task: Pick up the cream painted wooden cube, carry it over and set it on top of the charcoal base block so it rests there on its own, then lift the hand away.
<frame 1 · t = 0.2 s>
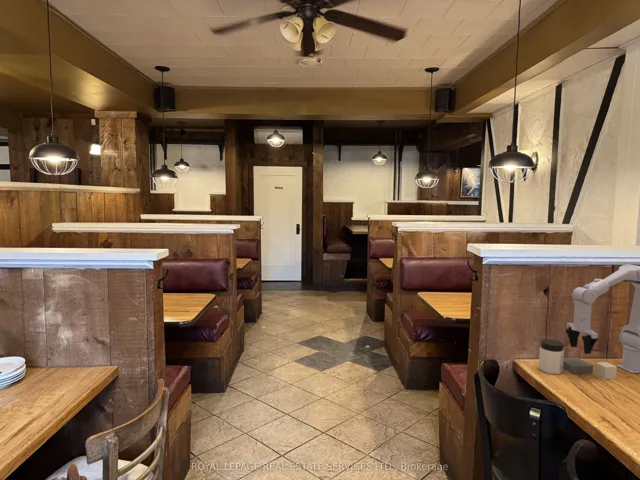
hand: (580, 350, 169), 10 cm above the table, fingers open, 7 cm apart
cream cube: (605, 376, 168), on the table
jar: (550, 370, 173), on the table
charcoal base: (574, 370, 175), on the table
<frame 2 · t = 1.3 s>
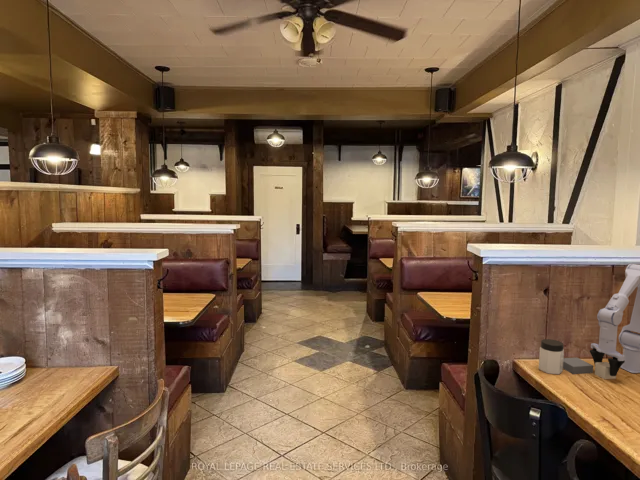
hand: (605, 371, 167), 2 cm above the table, fingers open, 7 cm apart
nothing on the table moved.
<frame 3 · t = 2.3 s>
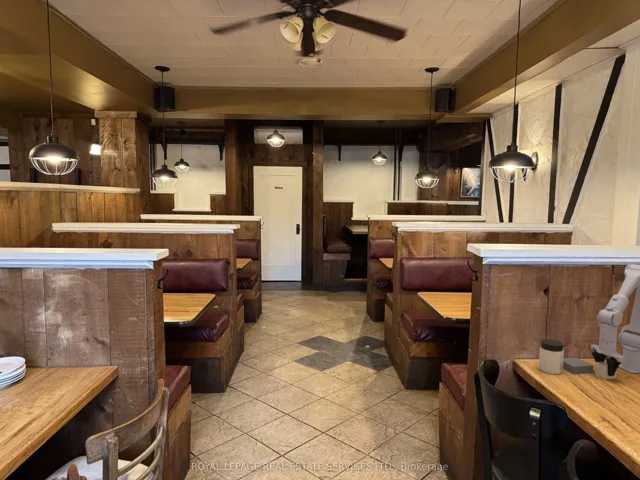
hand: (605, 372, 167), 1 cm above the table, fingers closed on cream cube, 5 cm apart
cream cube: (605, 376, 168), on the table, touching gripper
everything else where it was.
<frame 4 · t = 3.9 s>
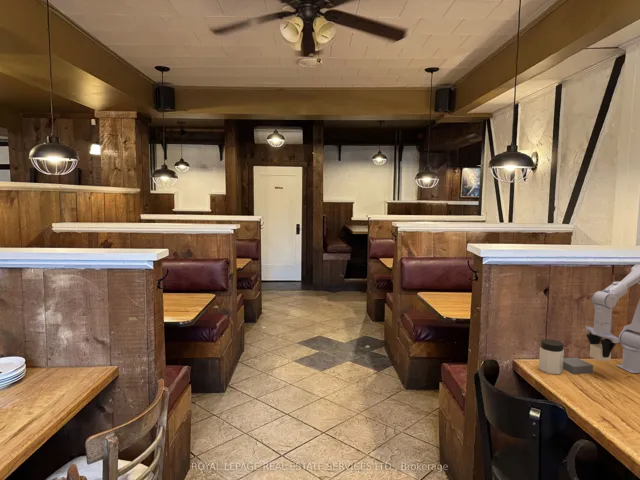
hand: (600, 354, 168), 8 cm above the table, fingers closed on cream cube, 5 cm apart
cream cube: (599, 358, 168), point 7 cm above the table, touching gripper
everything else where it was.
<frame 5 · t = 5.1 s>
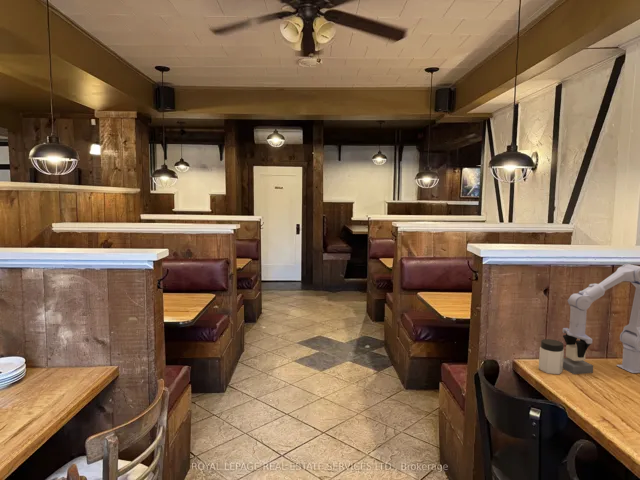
hand: (575, 354, 174), 6 cm above the table, fingers closed on cream cube, 5 cm apart
cream cube: (575, 358, 174), point 5 cm above the table, touching gripper
everything else where it was.
when the fingers open (6 cm above the table, at t = 5.8 s): cream cube drops 2 cm, resting on charcoal base.
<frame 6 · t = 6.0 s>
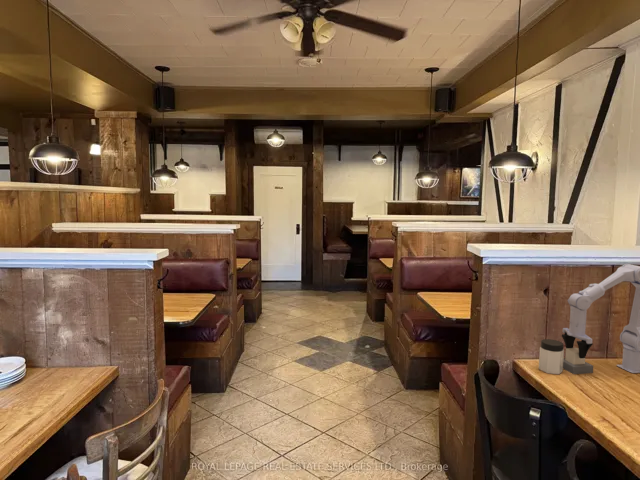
hand: (575, 354, 174), 6 cm above the table, fingers open, 7 cm apart
cream cube: (574, 361, 174), point 3 cm above the table, touching charcoal base
charcoal base: (574, 370, 175), on the table, touching cream cube
everything else where it was.
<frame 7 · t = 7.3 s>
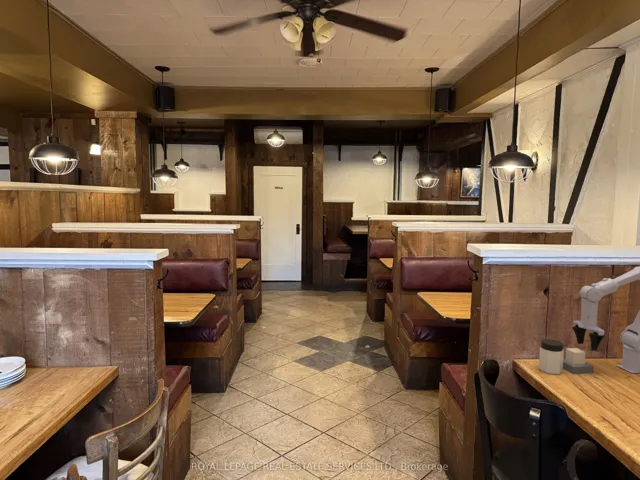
hand: (587, 346, 175), 9 cm above the table, fingers open, 7 cm apart
cream cube: (574, 361, 175), point 3 cm above the table
charcoal base: (574, 370, 174), on the table
everything else where it was.
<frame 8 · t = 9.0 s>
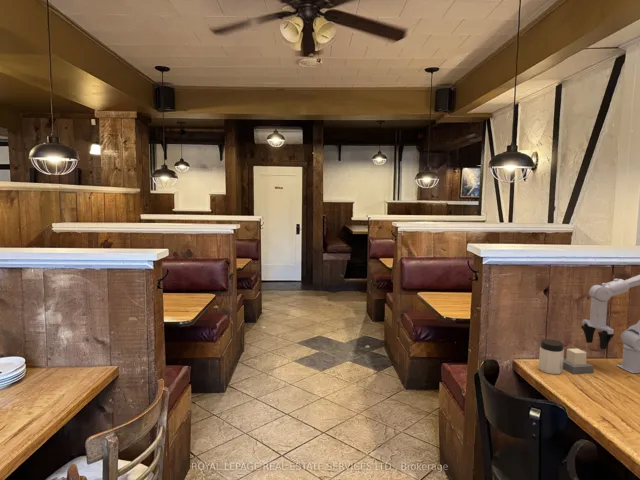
hand: (596, 345, 176), 9 cm above the table, fingers open, 7 cm apart
cream cube: (575, 362, 174), point 3 cm above the table, touching charcoal base
charcoal base: (574, 370, 174), on the table, touching cream cube
everything else where it was.
at the end: cream cube 0.1 cm off-centre on the charcoal base, point 3.5 cm above the charcoal base's base; the gripper is holding nothing; cream cube tilted 0° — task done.
